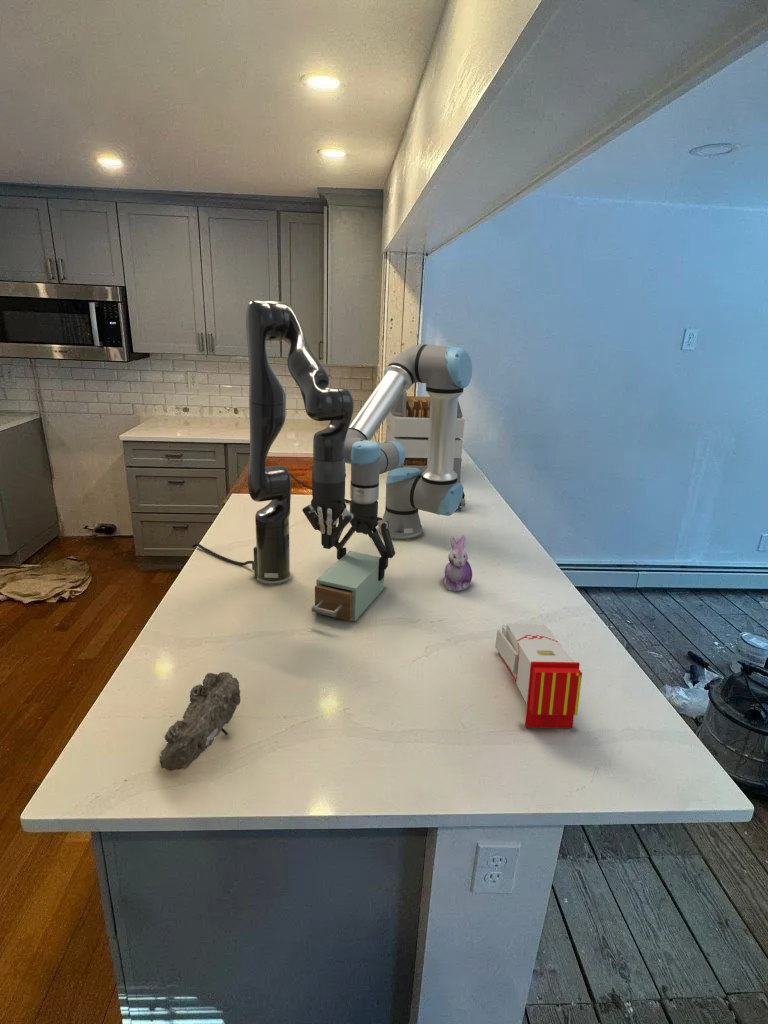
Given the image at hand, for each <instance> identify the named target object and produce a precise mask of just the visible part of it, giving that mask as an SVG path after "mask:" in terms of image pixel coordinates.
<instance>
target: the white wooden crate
mask: <svg viewBox="0 0 768 1024" xmlns="http://www.w3.org/2000/svg"><path fill="white" fill-rule="evenodd" d="M407 394H408V393H407V390H405V391H404V392H403V393H402V394H401V396H400V397H399V399H398V400H397V402H396V403H395V405H394V406H393V408H392V409H391V411H390V412H389V414H388V415H387V417H386V418H385V423H386V428H385V438H384V442H383V443H386V442H392V441H395V442H398V443H400V444H401V445H402V447H403V448H404V450H405V460H404V462H403V464H402V465H401V466H399V467H397V468H396V469H398V468H405V466H406V467H408V466H411V467H415V466H416V467H417V466H418V467H427V459H428V438H429V417H430V396H415V395H414V396H413V395H412V396H411V395H407ZM464 429H465V419H464V418H463V411H462V408H461V405H460V402H459V401H458V405H457V420H456V435H455V451H454V466H453V471H454V472H455V473H456V474H457V482H460V483H461V472H462V461H463V460H462V453H463V442H464V441H463V440H462V439H463V438H464V431H465V430H464ZM390 471H391V470H390ZM390 471H389V472H390Z"/></svg>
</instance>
